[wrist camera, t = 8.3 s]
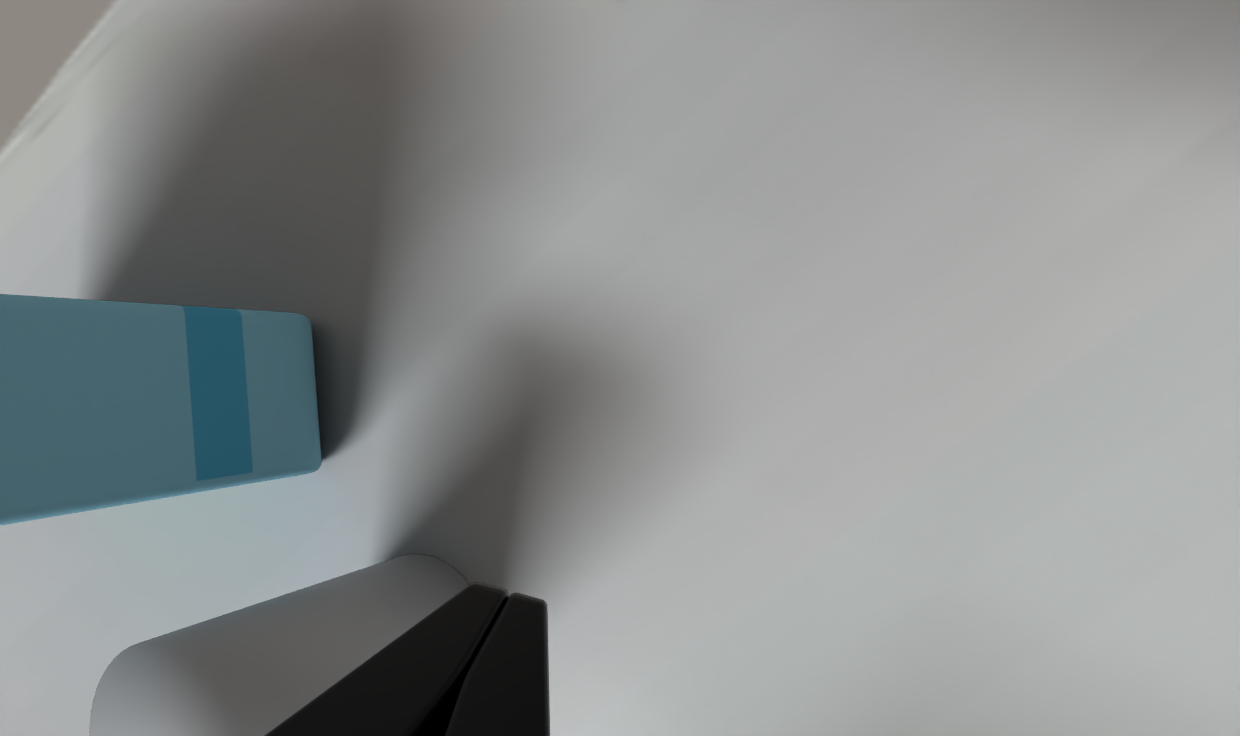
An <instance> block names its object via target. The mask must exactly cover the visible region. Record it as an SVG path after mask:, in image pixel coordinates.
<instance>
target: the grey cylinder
mask: <svg viewBox="0 0 1240 736" xmlns="http://www.w3.org/2000/svg"><path fill="white" fill-rule="evenodd" d="M467 586H469V584H468V582H467V581H466V580H465V579H464V578H463V576H462V575H461V574H460V573H459V572H457V571H456V570H455V569H454V568H453V567H451V566H450V565H448V564H447V563H445V562H444V561H441V560H439V559H437V558H435V557H431V556H428V555H421V554H409V555H404V556H400V557H397V558H394V559H391V560H388V561H385V562H382V563H379V564H376V565H373V566H370V567H367V568H364V569H361V570H358V571H355V572H352V573H349V574H346V575H343V576H340V577H337V578H334V579H331V580H328V581H325V582H322V583H319V584H316V585H313V586H310V587H307V588H304V589H300V590H297V591H294V592H291V593H288V594H285V595H282V596H279V597H276V598H273V599H270V600H267V601H264V602H261V603H258V604H255V605H252V606H249V607H246V608H243V609H240V610H237V611H234V612H231V613H228V614H225V615H222V616H219V617H216V618H213V619H210V620H207V621H204V622H201V623H198V624H195V625H192V626H189V627H186V628H183V629H180V630H177V631H174V632H171V633H168V634H165V635H162V636H159V637H156V638H153V639H150V640H147V641H144V642H141V643H138V644H135V645H133V646H130V647H129V648H127V649H125V650H124V651H122V652H121V653H120V654H119V655H118V656H117V657H115V658H114V659H113V661H112V662H111V663H110V664H109V666H108V667H107V669H106V670H105V672H104V674H103V675H102V677H101V679H100V682H99V684H98V686H97V689H96V692H95V696H94V699H93V704H92V709H91V717H90V736H264V735H266V734H267V733H268V732H270V731H271V730H273V729H274V728H275V727H277V726H278V725H279V724H281V723H282V722H283V721H285V720H286V719H288V718H289V717H290V716H292V715H293V714H294V713H296V712H297V711H298V710H300V709H301V708H303V707H304V706H305V705H307V704H308V703H309V702H311V701H312V700H313V699H315V698H316V697H318V696H319V695H320V694H322V693H323V692H324V691H326V690H327V689H328V688H330V687H331V686H332V685H334V684H335V683H337V682H338V681H339V680H341V679H342V678H343V677H345V676H346V675H347V674H349V673H350V672H352V671H353V670H354V669H356V668H357V667H358V666H360V665H361V664H362V663H364V662H365V661H367V660H368V659H369V658H371V657H372V656H373V655H375V654H376V653H377V652H379V651H380V650H382V649H383V648H384V647H386V646H387V645H388V644H390V643H391V642H392V641H394V640H395V639H397V638H398V637H399V636H401V635H402V634H403V633H405V632H406V631H407V630H409V629H410V628H411V627H413V626H414V625H416V624H417V623H418V622H420V621H421V620H422V619H424V618H425V617H426V616H428V615H429V614H431V613H432V612H433V611H435V610H436V609H437V608H439V607H440V606H441V605H443V604H444V603H446V602H447V601H448V600H450V599H451V598H452V597H454V596H455V595H456V594H458V593H459V592H461V591H462V590H463V589H465V588H466V587H467Z"/></svg>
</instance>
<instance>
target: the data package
mask: <svg viewBox="0 0 1240 736" xmlns="http://www.w3.org/2000/svg"><path fill="white" fill-rule="evenodd" d="M320 466H321V448H320V435H319V421H318V408H317V394H316V381H315V368H314V354H313V341H312V328H311V322H310V320H309V319H308V318H307V317H306V316H304V315H302V314H298V313H290V312H275V311H259V310H244V309H228V308H212V307H196V306H180V305H165V304H149V303H133V302H117V301H101V300H86V299H70V298H54V297H38V296H22V295H7V294H0V525H6V524H12V523H18V522H24V521H30V520H36V519H42V518H48V517H54V516H60V515H66V514H72V513H78V512H83V511H89V510H95V509H101V508H107V507H113V506H119V505H125V504H131V503H137V502H143V501H149V500H155V499H161V498H167V497H173V496H179V495H185V494H191V493H197V492H203V491H209V490H215V489H221V488H227V487H233V486H238V485H244V484H250V483H256V482H262V481H268V480H274V479H280V478H286V477H292V476H298V475H303V474H308V473H312V472H314V471H316V470H318V469H319V467H320Z"/></svg>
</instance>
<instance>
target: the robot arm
mask: <svg viewBox="0 0 1240 736" xmlns="http://www.w3.org/2000/svg"><path fill="white" fill-rule="evenodd" d="M264 736H550V710H549V661H548V613H547V604H546V602H545V601H544V600H542V599H538V598H535V597H531V596H527V595H524V594H520V593H513V594H511V595H509V593H508V591H507V590H505V589H502V588H498V587H495V586H491V585H488V584H484V583H480V582H476V583H472V584H470V585H469V586H467V587H466V588H465V589H463V590H462V591H461V592H459V593H458V594H456V595H455V596H454V597H452V598H451V599H450V600H448V601H447V602H446V603H444V604H443V605H441V606H440V607H439V608H437V609H436V610H435V611H433V612H432V613H431V614H429V615H428V616H426V617H425V618H424V619H422V620H421V621H420V622H418V623H417V624H416V625H414V626H413V627H411V628H410V629H409V630H407V631H406V632H405V633H403V634H402V635H401V636H399V637H398V638H397V639H395V640H394V641H392V642H391V643H390V644H388V645H387V646H386V647H384V648H383V649H382V650H380V651H379V652H377V653H376V654H375V655H373V656H372V657H371V658H369V659H368V660H367V661H365V662H364V663H362V664H361V665H360V666H358V667H357V668H356V669H354V670H353V671H352V672H350V673H349V674H347V675H346V676H345V677H343V678H342V679H341V680H339V681H338V682H337V683H335V684H334V685H332V686H331V687H330V688H328V689H327V690H326V691H324V692H323V693H322V694H320V695H319V696H318V697H316V698H315V699H313V700H312V701H311V702H309V703H308V704H307V705H305V706H304V707H303V708H301V709H300V710H298V711H297V712H296V713H294V714H293V715H292V716H290V717H289V718H288V719H286V720H285V721H283V722H282V723H281V724H279V725H278V726H277V727H275V728H274V729H273V730H271V731H270V732H268V733H267V734H266V735H264Z"/></svg>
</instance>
